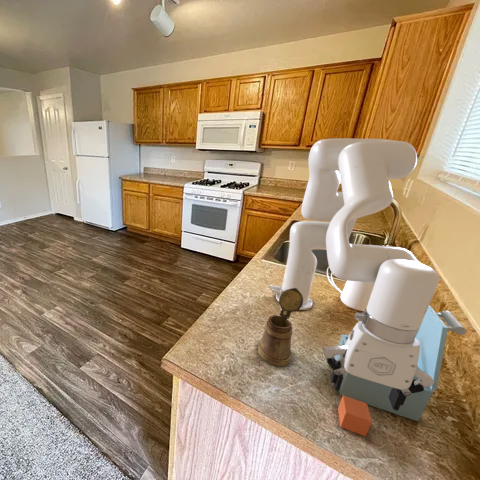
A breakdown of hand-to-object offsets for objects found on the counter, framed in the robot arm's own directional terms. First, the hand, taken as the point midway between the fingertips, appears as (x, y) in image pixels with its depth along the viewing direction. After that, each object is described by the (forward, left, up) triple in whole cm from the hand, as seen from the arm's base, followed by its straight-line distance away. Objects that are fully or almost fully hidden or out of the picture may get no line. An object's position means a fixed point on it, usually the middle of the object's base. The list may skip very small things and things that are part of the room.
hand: (363, 394), depth 54 cm
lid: (+11, +13, +8) cm, 19 cm away
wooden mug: (-16, +16, -9) cm, 25 cm away
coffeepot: (+10, +54, -9) cm, 56 cm away
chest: (+6, +13, -9) cm, 17 cm away
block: (0, 0, -9) cm, 9 cm away
